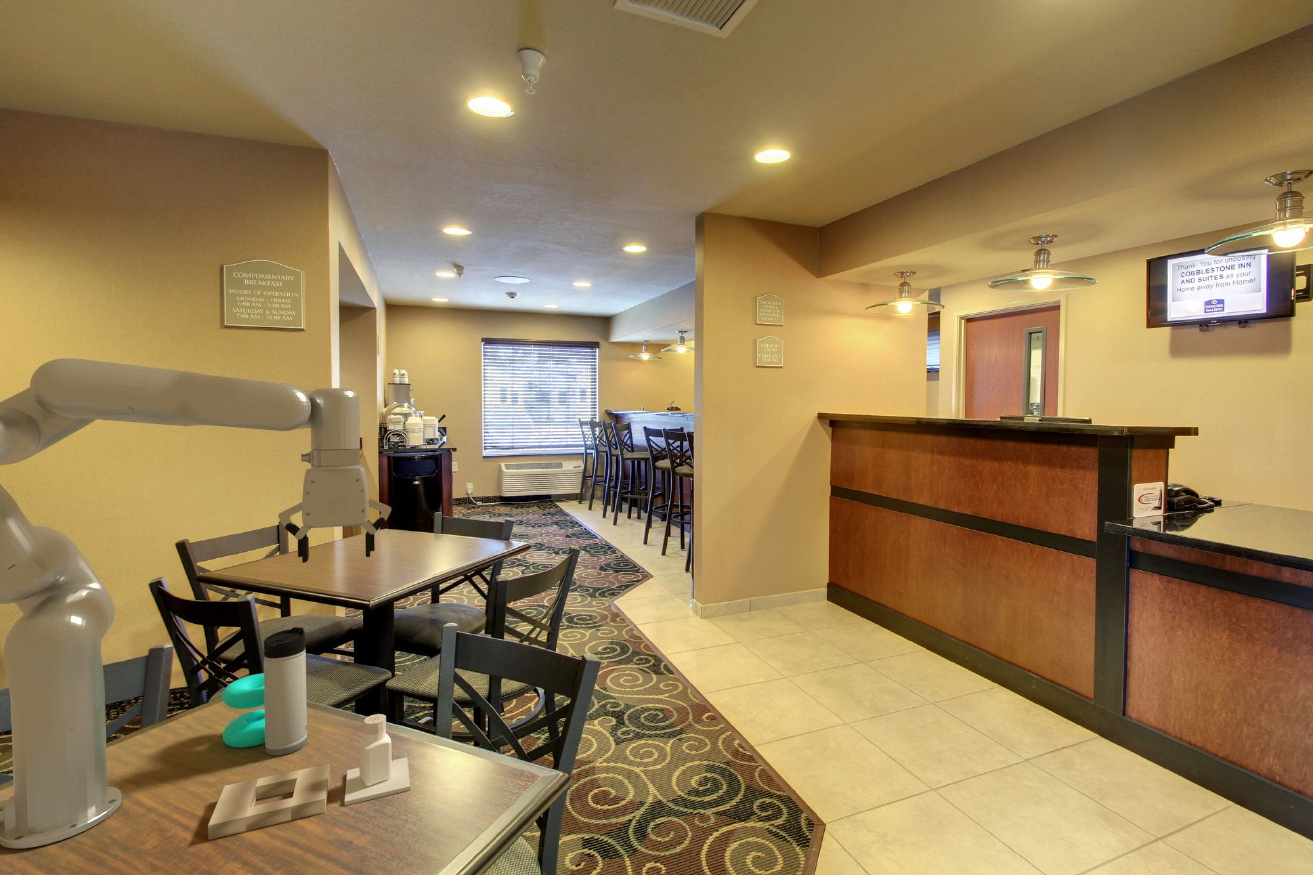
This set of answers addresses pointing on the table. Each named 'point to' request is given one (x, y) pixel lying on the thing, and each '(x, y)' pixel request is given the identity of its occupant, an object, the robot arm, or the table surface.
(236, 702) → the donuts
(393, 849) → the table surface
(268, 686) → the travel mug
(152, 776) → the table surface
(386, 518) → the robot arm
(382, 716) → the pepper shaker
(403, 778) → the beige mat
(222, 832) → the socket block
